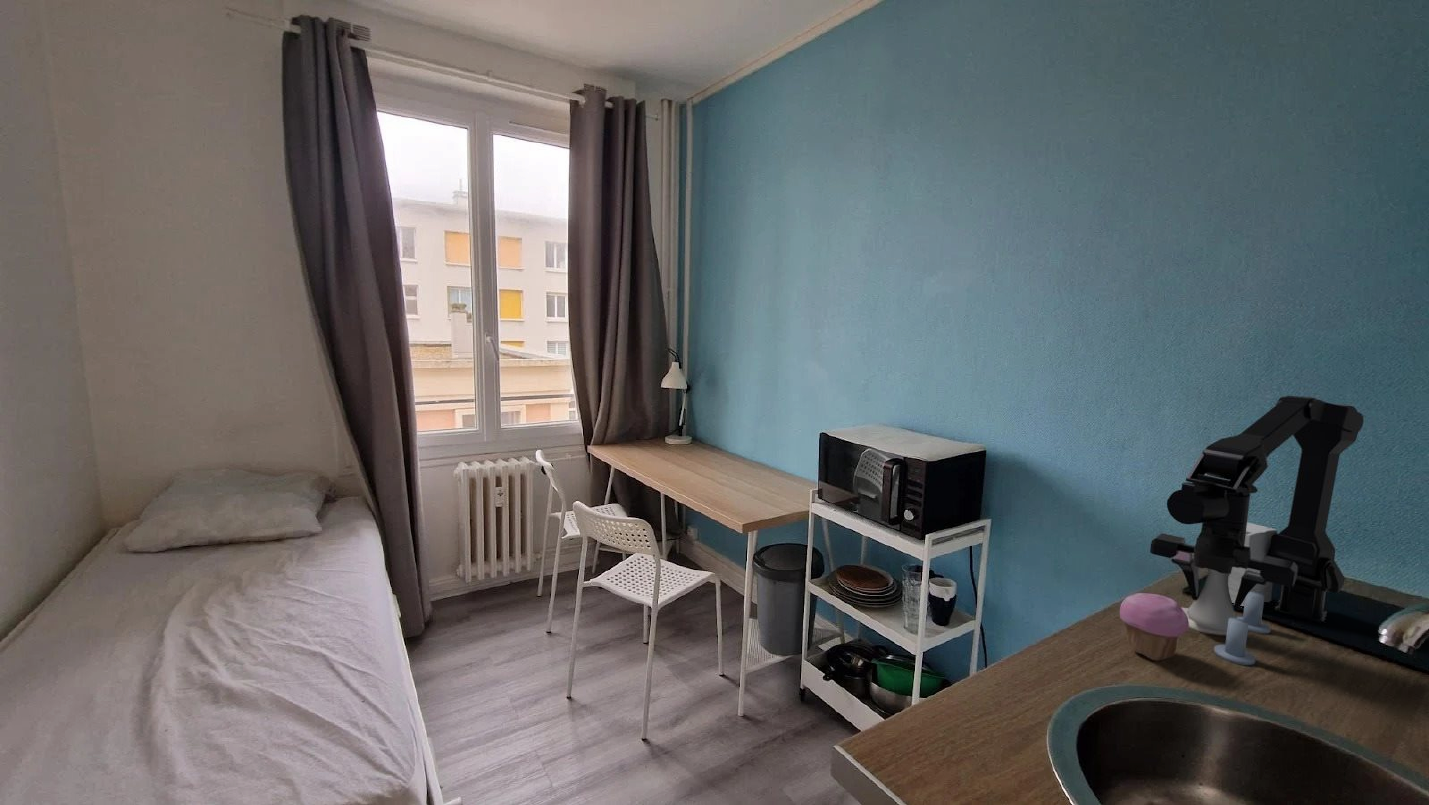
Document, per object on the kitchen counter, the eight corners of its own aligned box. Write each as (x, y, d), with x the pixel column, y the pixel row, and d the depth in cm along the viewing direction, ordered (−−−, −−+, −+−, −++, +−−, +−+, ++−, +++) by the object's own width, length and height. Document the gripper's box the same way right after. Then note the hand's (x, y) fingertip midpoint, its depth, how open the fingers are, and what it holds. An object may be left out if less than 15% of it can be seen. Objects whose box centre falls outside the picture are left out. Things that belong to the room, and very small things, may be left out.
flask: (1250, 635, 98) (1257, 578, 97) (1200, 630, 100) (1207, 574, 98) (1224, 615, 105) (1230, 561, 104) (1177, 610, 107) (1183, 558, 105)
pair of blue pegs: (1235, 617, 108) (1239, 586, 107) (1272, 627, 104) (1276, 595, 104) (1210, 655, 95) (1215, 620, 94) (1252, 669, 91) (1256, 632, 90)
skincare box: (1237, 591, 119) (1242, 520, 118) (1273, 603, 113) (1279, 528, 112) (1209, 597, 116) (1214, 524, 115) (1245, 609, 111) (1251, 533, 109)
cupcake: (1195, 661, 93) (1202, 601, 92) (1166, 675, 89) (1172, 613, 88) (1134, 635, 101) (1139, 580, 100) (1105, 647, 97) (1110, 590, 96)
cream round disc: (1177, 606, 112) (1177, 603, 112) (1239, 624, 105) (1239, 621, 105) (1164, 620, 106) (1164, 617, 106) (1229, 640, 100) (1229, 637, 100)
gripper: (1145, 514, 102) (1137, 599, 104) (1295, 544, 88) (1282, 642, 90) (1162, 502, 109) (1154, 582, 111) (1303, 528, 95) (1291, 619, 97)
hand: (1214, 605), depth 102 cm, fingers closed on flask, 5 cm apart
